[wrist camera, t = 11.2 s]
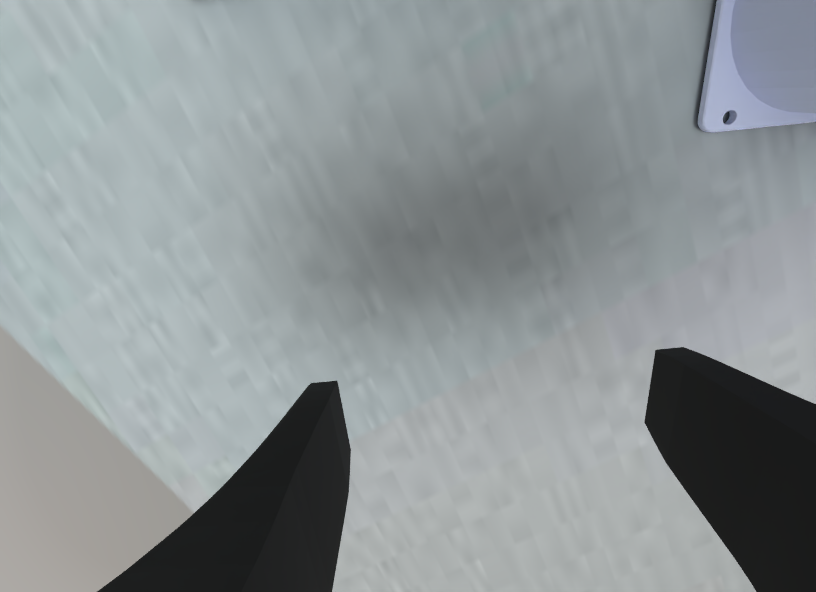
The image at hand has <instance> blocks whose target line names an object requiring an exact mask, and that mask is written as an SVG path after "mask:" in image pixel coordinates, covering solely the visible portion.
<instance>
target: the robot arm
mask: <svg viewBox="0 0 816 592" xmlns="http://www.w3.org/2000/svg"><path fill="white" fill-rule="evenodd" d="M727 111H729V112H730V117H729V119H728V121H727V122H726V123H724V122H723V116H724V114H725V113H726V112H727ZM810 122H816V0H717V2H716V9H715V15H714V21H713V28H712V34H711V40H710V46H709V53H708V59H707V65H706V71H705V78H704V84H703V90H702V97H701V103H700V109H699V115H698V126H699V128H700V129H701V130H703V131H705V132H723V131H733V130H742V129H752V128H762V127H771V126H781V125H791V124H800V123H810ZM645 424H646V426H647V428H648V430H649V432H650V434H651V436H652V438H653V440H654V442H655V444H656V445H657V447H658V449H659V451H660V453H661V454H662V456H663V458H664V460H665V461H666V463H667V465H668V466H669V467H670V469H671V470H672V472H673V473H674V475H675V476H676V477H677V479H678V480H679V482H680V483H681V485H682V486H683V487H684V489H685V490H686V492H687V493H688V494H689V496H690V497H691V499H692V500H693V501H694V503H695V504H696V505H697V507H698V508H699V510H700V511H701V512H702V514H703V515H704V516H705V518H706V519H707V521H708V522H709V523H710V525H711V526H712V528H713V529H714V530H715V532H716V533H717V534H718V536H719V537H720V539H721V540H722V541H723V543H724V544H725V546H726V547H727V548H728V550H729V551H730V552H731V554H732V555H733V557H734V558H735V559H736V561H737V562H738V564H739V565H740V567H741V568H742V570H743V571H744V573H745V574H746V576H747V577H748V579H749V580H750V582H751V583H752V585H753V587H754V588H755V590H756V592H816V404H814V403H811V402H809V401H806V400H804V399H802V398H799V397H797V396H795V395H793V394H790V393H788V392H786V391H783V390H781V389H779V388H777V387H774V386H772V385H770V384H768V383H766V382H763V381H761V380H759V379H757V378H754V377H752V376H750V375H748V374H746V373H743V372H741V371H739V370H737V369H734V368H732V367H730V366H728V365H726V364H723V363H721V362H719V361H716V360H714V359H712V358H710V357H707V356H705V355H702V354H700V353H697V352H695V351H692V350H689V349H687V348H684V347H680V348H670V349H660V350H656V351H655V358H654V364H653V371H652V377H651V384H650V390H649V397H648V403H647V410H646V416H645ZM350 454H351V449H350V444H349V439H348V434H347V429H346V423H345V418H344V413H343V408H342V403H341V398H340V393H339V387H338V382H337V381H330V382H319V383H311V384H310V385H309V386H308V387H307V388H306V389H305V391H304V392H303V393H302V394H301V396H300V397H299V398H298V399H297V401H296V402H295V403H294V405H293V406H292V407H291V408H290V410H289V411H288V412H287V413H286V415H285V416H284V417H283V418H282V420H281V421H280V422H279V423H278V425H277V426H276V427H275V428H274V429H273V431H272V432H271V433H270V434H269V435H268V437H267V438H266V439H265V440H264V441H263V443H262V444H261V445H260V446H259V447H258V449H257V450H256V451H255V452H254V453H253V454H252V455H251V456H250V458H249V459H248V460H247V461H246V462H245V463H244V464H243V465H242V466H241V467H240V468H239V469H238V471H237V472H236V473H235V474H234V475H233V476H232V477H231V478H230V479H229V480H228V481H227V482H226V483H225V484H224V485H223V486H222V487H221V488H220V489H219V490H218V491H217V492H216V493H215V494H214V495H213V496H212V497H211V498H210V499H209V500H208V501H207V502H206V503H205V504H204V505H203V506H202V507H200V508H199V509H198V510H197V511H196V512H195V513H194V514H193V515H192V516H191V517H190V518H189V519H187V520H186V521H185V522H184V523H183V524H182V525H181V526H180V527H178V528H177V529H176V530H175V531H174V532H172V533H171V534H170V535H169V536H167V537H166V538H165V539H164V540H163V541H161V542H160V543H159V544H158V545H157V546H155V547H154V548H153V549H152V550H150V551H149V552H148V553H147V554H145V555H144V556H143V557H142V558H141V559H139V560H138V561H137V562H136V563H135V564H133V565H132V566H131V567H130V568H128V569H127V570H126V571H124V572H123V573H122V574H121V575H119V576H118V577H116V578H115V579H114V580H112V581H111V582H110V583H108V584H107V585H106V586H104V587H103V588H102V589H100V590H99V591H98V592H332V588H333V582H334V576H335V570H336V564H337V558H338V553H339V547H340V541H341V535H342V529H343V523H344V517H345V511H346V505H347V499H348V493H349V476H350Z"/></svg>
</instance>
